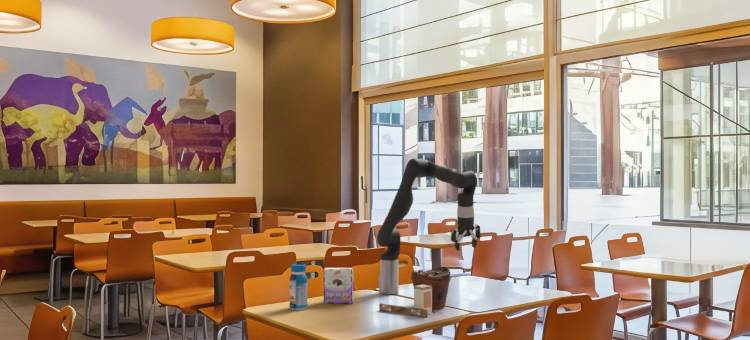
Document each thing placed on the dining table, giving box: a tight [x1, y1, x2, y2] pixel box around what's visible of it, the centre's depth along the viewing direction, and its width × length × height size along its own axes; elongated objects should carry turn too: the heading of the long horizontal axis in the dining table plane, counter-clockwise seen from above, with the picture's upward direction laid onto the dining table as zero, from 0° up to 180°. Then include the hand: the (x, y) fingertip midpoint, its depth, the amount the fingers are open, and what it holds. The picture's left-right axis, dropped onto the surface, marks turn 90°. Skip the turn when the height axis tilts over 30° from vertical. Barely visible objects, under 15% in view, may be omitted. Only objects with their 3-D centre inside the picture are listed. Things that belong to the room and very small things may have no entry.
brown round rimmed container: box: [410, 266, 451, 310], centre depth 299 cm, size 18×20×18 cm
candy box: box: [322, 267, 354, 305], centre depth 308 cm, size 14×6×16 cm, turn 84°
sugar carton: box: [413, 285, 433, 315], centre depth 284 cm, size 6×6×12 cm
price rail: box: [378, 303, 429, 318], centre depth 283 cm, size 24×2×3 cm, turn 56°
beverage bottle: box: [288, 263, 309, 311], centre depth 294 cm, size 8×8×20 cm
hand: (465, 248), depth 297 cm, fingers open, 8 cm apart
